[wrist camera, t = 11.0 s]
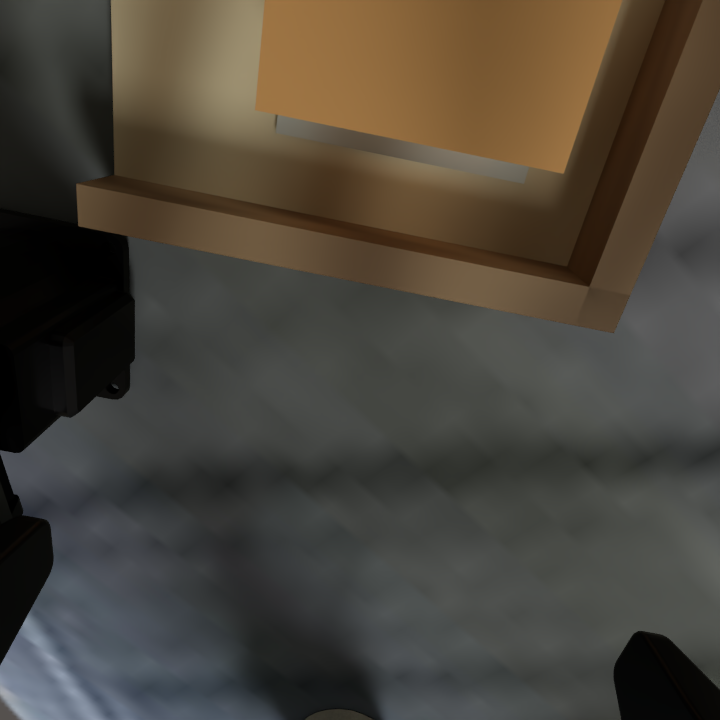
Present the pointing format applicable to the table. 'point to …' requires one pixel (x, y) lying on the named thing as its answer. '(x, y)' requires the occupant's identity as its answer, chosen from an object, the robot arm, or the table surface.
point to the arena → (401, 168)
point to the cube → (439, 71)
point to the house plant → (337, 715)
